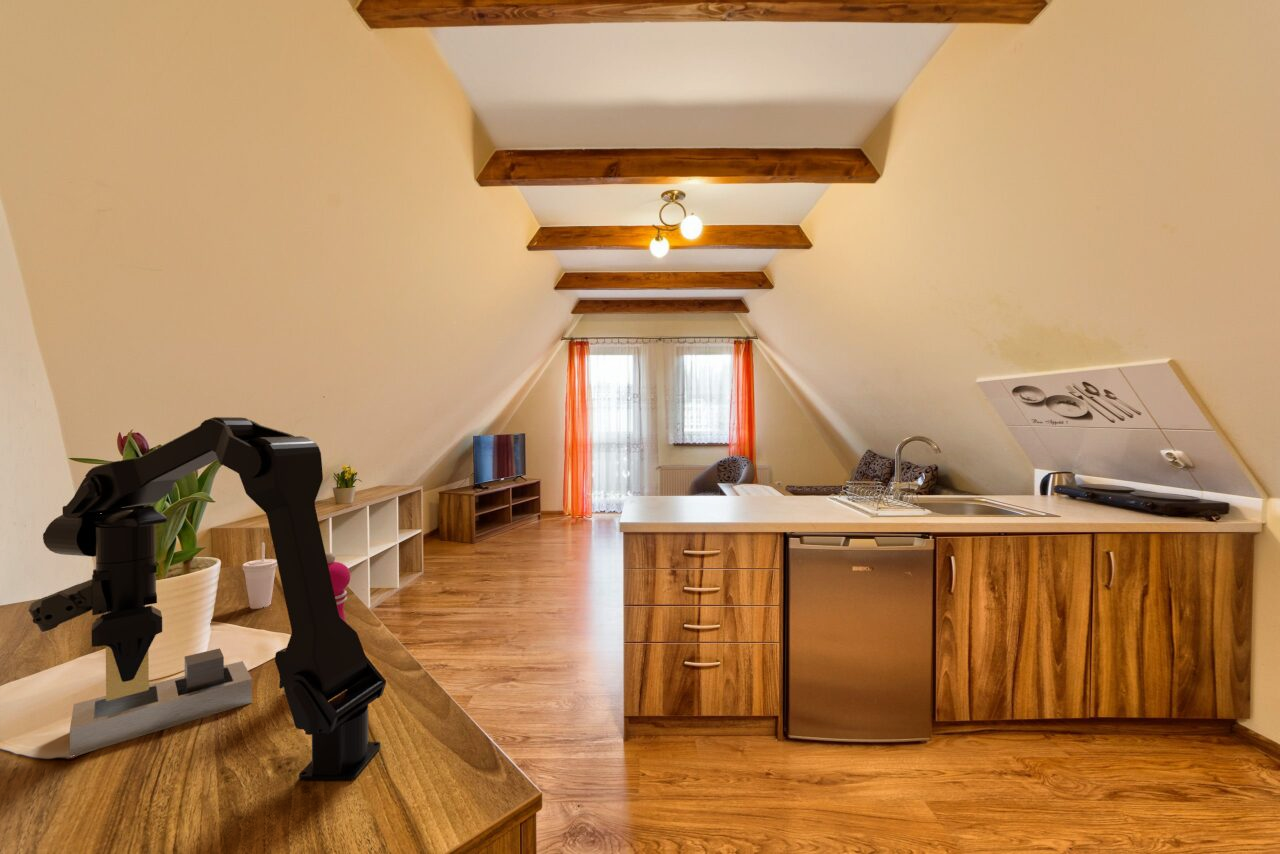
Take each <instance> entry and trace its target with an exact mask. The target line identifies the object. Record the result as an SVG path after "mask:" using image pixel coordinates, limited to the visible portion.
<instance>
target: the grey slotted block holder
mask: <svg viewBox="0 0 1280 854" xmlns="http://www.w3.org/2000/svg"><path fill="white" fill-rule="evenodd" d="M224 659H225V658H224V654H223V652H222V649H221V648H216V649H211V650H207V651H202V652H199V653H193V654H191V655H190V654H189V655H186V656H184V675H181V676H179V677H175V678H170V679H167V680H162V681H158V682H155V683H151V684H149V690H147V691H143V692H139V693H136V694H132V695H128V696H124V697H120V698H116V699H113V700H109V701H106V695H103V696H99V697H96V698H92V699H88V700H83V701H80V702H76V703H73V706H72V713H71V719H70V727H69V757H70V756H73V755H76V756H80V755H83V754H87V753H90V752H93V751H97V750H99V749H103V748H106V747H109V746H113V745H116V744H120V743H123V742H126V741H127V742H128V741H129V740H133V739H136V738H139V737H142V736H146V735H149V734H152V733H156V732H159V731H163V730H167V729H169V728H172V727H176V726H180V725H182V724H186V723H189V722H192V721H196V720H199V719H203V718H206V717H210V716H212V715H216V714H218V713H223V712H225V711H228V710H229V711H230V710H232V709H236V708H239V707H242V706H246V705H249V704H251V703H253V677H252V676H251V675H250V672H249V670H248V669H247V666H246V665H245V663H244V661H243V660H242V661H237V662H233V663H229V664H226V665H225V661H224ZM76 756H75V757H76Z"/></svg>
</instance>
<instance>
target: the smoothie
mask: <svg viewBox="0 0 1280 854" xmlns="http://www.w3.org/2000/svg"><path fill="white" fill-rule="evenodd" d="M265 546H266V545H265V542H264V541H263V542H261V559H256V560H255V559H254V560H251V561H247V562H244V563H242V570H243V571H244V577H245V583H246V591H247V596H248V603H249V608H250V609H252V610H256V609H257V610H258V609H263V607H264V608H267V607H269V605H270V604H271V603H272V596H273V589H274V583H275V582H274V581H275V577H276V576H275V575H276V567H278V564H277V560H276V558H265V557H266V555H265ZM270 606H271V605H270Z"/></svg>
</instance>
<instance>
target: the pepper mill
mask: <svg viewBox="0 0 1280 854" xmlns="http://www.w3.org/2000/svg"><path fill="white" fill-rule="evenodd" d="M325 554H326V558H327V563H328V567H329V572H330V577H331V581H332V586H333V590H334V595H335V599H336V604H337V608H338V613H339V615H340V617H341V618H342V619H343V620H344V621H345V622H346V623H347V620H346V617H345V612H344V611H345V610H344V605H345V602H346V601H347V600H348V596H347V594H348V592H347V590H345V589H346V588H347V586H348V585H349V584H350V581H351V572H350V569H349V568H348V566H346V565H345V564H344V563H343V562H337V561H335V560H336V555H335V554H334V553H332V552H325Z"/></svg>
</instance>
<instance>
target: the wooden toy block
mask: <svg viewBox="0 0 1280 854" xmlns="http://www.w3.org/2000/svg"><path fill="white" fill-rule="evenodd" d="M149 665H150V664H149V650H148V651H147V653H146V655H145V657H144V659H143V661H142V663H141V665H140V667H139V669H138V671H137V673H136V676H135V678H134V679H133V680H130V681H126V682H122V680H121V677H120V674H119V670H118V667H117V664H116V661H115V658H114V655H113V652H112V649H111V648H110V647H108V646H105V696H106V701H109V700H113V699H116V698H120V697H124V696H128V695H132V694H136V693H139V692H143V691H147V690H149V685H150V684H149V683H150V681H149V679H150V675H149V671H150V669H149Z"/></svg>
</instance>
